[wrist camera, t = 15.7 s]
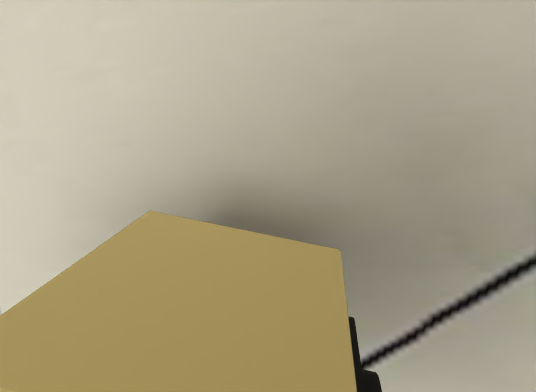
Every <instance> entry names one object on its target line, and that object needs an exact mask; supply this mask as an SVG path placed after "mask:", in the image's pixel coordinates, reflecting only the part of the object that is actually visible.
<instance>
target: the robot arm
mask: <svg viewBox="0 0 536 392" xmlns="http://www.w3.org/2000/svg"><path fill="white" fill-rule="evenodd" d="M348 319H349V328H350V337H351V345H352V354H353V363H354V371H355V380H356V389H357V392H382V390H381V385H380V380H379V376H378V374H377V373H376V372H371V371H367V370H363V369H361V362H360V355H359V348H358V341H357V333H356V326H355V320H354V318H353V317H348Z"/></svg>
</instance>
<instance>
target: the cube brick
mask: <svg viewBox="0 0 536 392" xmlns="http://www.w3.org/2000/svg"><path fill="white" fill-rule="evenodd" d="M0 392H357V389H356V380H355V371H354V363H353V354H352V345H351V337H350V328H349V319H348V310H347V302H346V293H345V284H344V276H343V267H342V258H341V250H339V249H334V248H329V247H324V246H320V245H315V244H310V243H305V242H300V241H295V240H290V239H285V238H281V237H276V236H271V235H266V234H261V233H256V232H251V231H246V230H242V229H237V228H232V227H227V226H222V225H217V224H212V223H207V222H203V221H198V220H193V219H188V218H183V217H178V216H173V215H168V214H164V213H159V212H154V211H148V212H147V213H146V214H144V215H143V216H141V217H140V218H138V219H137V220H136V221H134V222H133V223H131V224H130V225H129V226H127V227H126V228H124V229H123V230H121V231H120V232H119V233H117V234H116V235H114V236H113V237H111V238H110V239H109V240H107V241H106V242H104V243H103V244H102V245H100V246H99V247H97V248H96V249H94V250H93V251H92V252H90V253H89V254H87V255H86V256H84V257H83V258H82V259H80V260H79V261H77V262H76V263H75V264H73V265H72V266H70V267H69V268H67V269H66V270H65V271H63V272H62V273H60V274H59V275H57V276H56V277H55V278H53V279H52V280H50V281H49V282H48V283H46V284H45V285H43V286H42V287H40V288H39V289H38V290H36V291H35V292H33V293H32V294H30V295H29V296H28V297H26V298H25V299H23V300H22V301H21V302H19V303H18V304H16V305H15V306H13V307H12V308H11V309H9V310H8V311H6V312H5V313H3V314H2V315H1V316H0Z"/></svg>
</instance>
